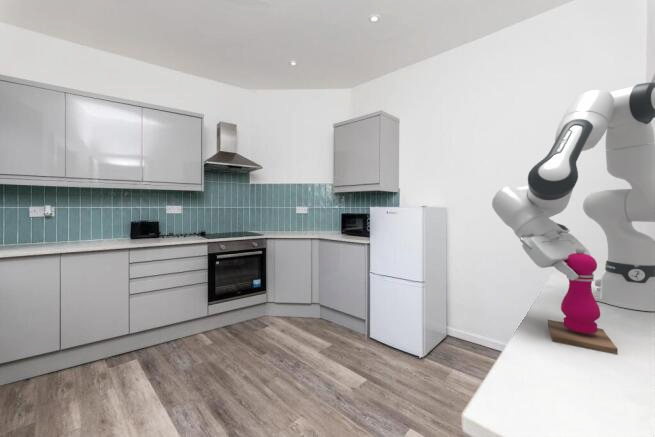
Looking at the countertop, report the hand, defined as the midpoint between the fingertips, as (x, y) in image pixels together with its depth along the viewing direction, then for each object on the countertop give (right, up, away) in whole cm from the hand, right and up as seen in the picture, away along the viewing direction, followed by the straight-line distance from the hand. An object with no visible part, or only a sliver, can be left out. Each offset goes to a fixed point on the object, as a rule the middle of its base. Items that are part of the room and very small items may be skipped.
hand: (583, 277), depth 69 cm
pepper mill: (0, -13, +1) cm, 13 cm away
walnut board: (-1, -15, +1) cm, 15 cm away
